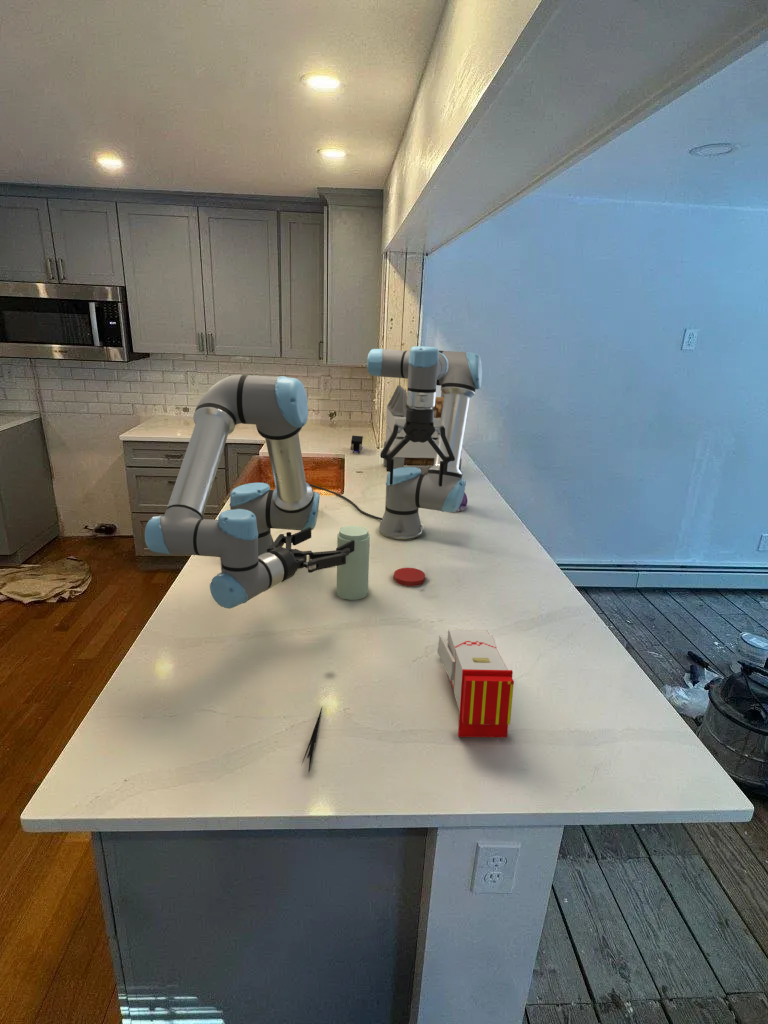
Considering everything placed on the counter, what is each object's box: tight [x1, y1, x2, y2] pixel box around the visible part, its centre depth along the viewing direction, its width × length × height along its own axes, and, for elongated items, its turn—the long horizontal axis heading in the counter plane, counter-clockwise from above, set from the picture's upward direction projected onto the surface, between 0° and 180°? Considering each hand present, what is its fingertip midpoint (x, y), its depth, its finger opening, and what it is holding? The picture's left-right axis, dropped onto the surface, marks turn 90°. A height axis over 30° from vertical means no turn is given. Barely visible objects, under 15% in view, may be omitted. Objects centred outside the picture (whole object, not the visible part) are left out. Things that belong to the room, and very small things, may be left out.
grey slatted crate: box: [383, 384, 463, 472], centre depth 268 cm, size 34×33×41 cm
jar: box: [336, 524, 371, 601], centre depth 155 cm, size 9×9×18 cm
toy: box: [437, 628, 515, 738], centre depth 117 cm, size 12×13×30 cm
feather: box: [301, 673, 332, 771], centre depth 108 cm, size 2×28×2 cm
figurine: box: [454, 471, 468, 513], centre depth 225 cm, size 9×10×15 cm
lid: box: [393, 567, 426, 587], centre depth 167 cm, size 9×9×2 cm
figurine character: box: [350, 435, 364, 454], centre depth 309 cm, size 7×8×15 cm
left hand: (331, 538), depth 143 cm, fingers open, 13 cm apart
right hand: (415, 484), depth 157 cm, fingers open, 13 cm apart
